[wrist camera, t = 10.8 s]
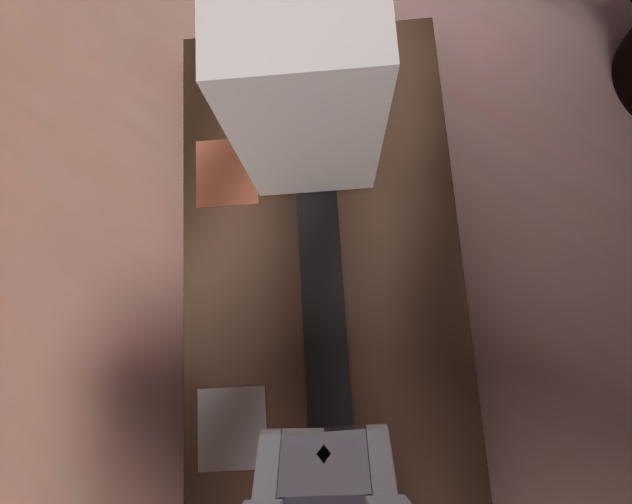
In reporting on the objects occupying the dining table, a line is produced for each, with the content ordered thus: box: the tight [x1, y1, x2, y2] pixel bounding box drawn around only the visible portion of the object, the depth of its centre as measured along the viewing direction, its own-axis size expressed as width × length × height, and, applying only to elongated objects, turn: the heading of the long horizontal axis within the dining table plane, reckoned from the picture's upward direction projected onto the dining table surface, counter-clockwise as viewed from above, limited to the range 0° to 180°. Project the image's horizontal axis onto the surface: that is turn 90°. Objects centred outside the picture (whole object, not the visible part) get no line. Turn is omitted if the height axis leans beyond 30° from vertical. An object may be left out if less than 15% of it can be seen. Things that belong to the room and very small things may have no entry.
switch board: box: [184, 18, 492, 504], centre depth 20 cm, size 12×22×2 cm, turn 3°
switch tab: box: [195, 0, 400, 196], centre depth 16 cm, size 5×3×9 cm, turn 93°
